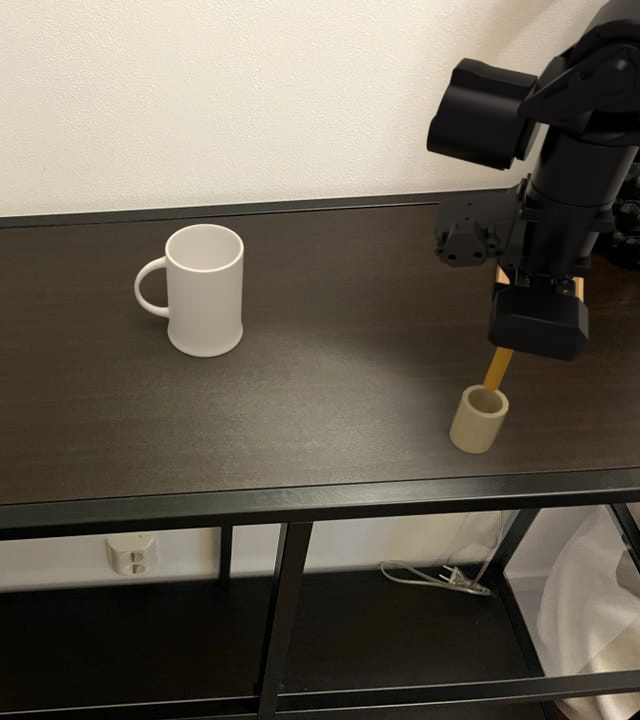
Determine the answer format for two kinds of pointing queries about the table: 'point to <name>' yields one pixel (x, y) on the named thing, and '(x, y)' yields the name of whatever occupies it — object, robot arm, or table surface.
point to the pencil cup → (478, 419)
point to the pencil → (497, 368)
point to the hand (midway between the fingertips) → (509, 340)
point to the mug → (201, 289)
